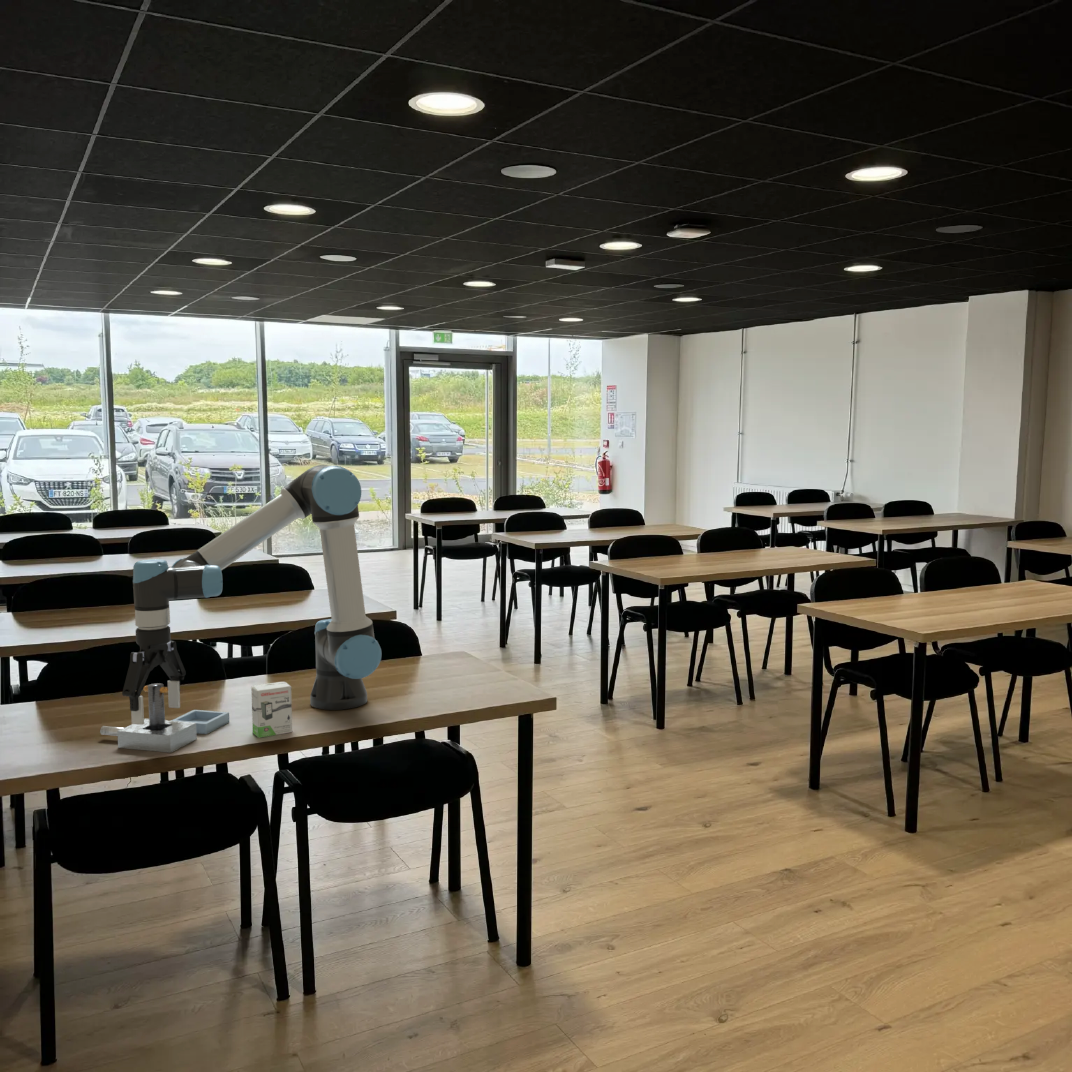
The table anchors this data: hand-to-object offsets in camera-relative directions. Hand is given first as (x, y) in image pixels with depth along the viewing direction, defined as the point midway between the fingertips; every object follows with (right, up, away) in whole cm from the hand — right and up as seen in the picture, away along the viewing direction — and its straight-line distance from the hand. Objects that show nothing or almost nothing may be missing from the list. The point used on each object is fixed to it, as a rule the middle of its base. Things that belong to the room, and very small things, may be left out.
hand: (156, 715), depth 224 cm
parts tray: (+5, -5, +14) cm, 16 cm away
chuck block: (-4, -7, +2) cm, 8 cm away
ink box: (+25, -6, +9) cm, 27 cm away
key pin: (0, -7, +1) cm, 7 cm away
